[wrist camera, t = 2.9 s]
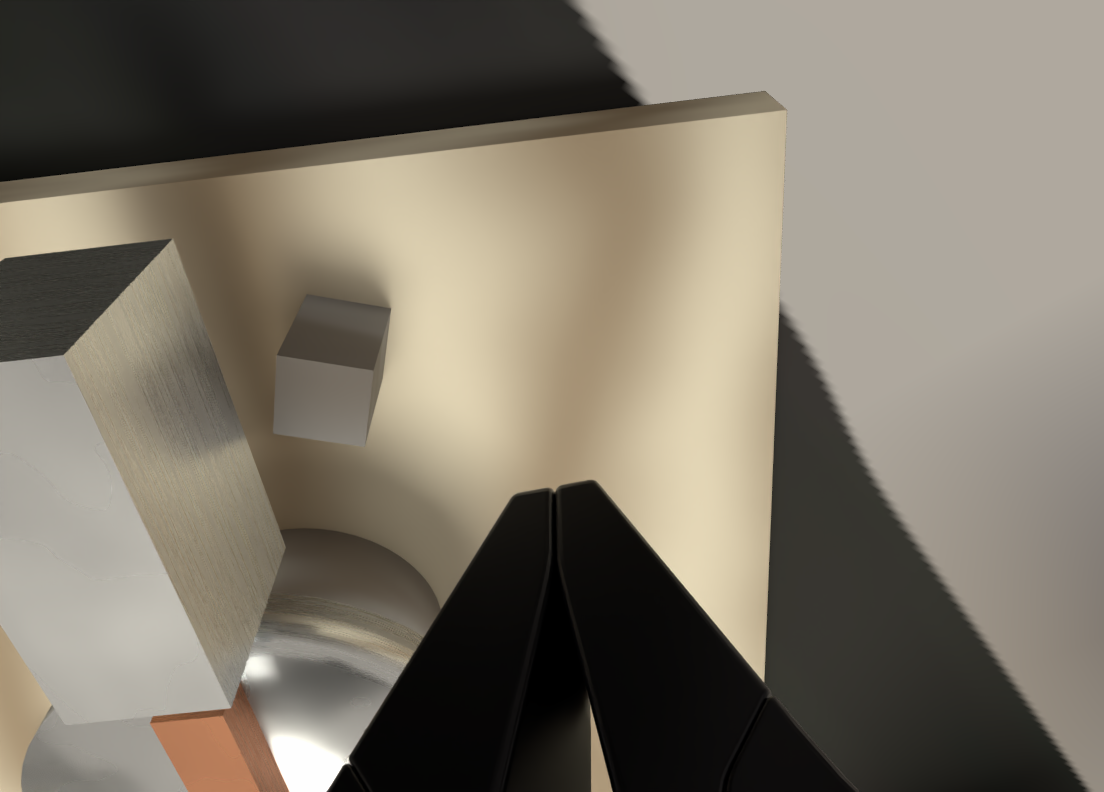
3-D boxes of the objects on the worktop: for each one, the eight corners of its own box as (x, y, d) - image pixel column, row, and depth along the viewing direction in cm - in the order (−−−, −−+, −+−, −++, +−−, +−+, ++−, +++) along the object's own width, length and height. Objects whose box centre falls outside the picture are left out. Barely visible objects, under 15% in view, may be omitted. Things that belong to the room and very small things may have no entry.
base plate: (765, 90, 16) (852, 166, 12) (746, 788, 27) (787, 948, 23) (-368, 225, 16) (-661, 342, 12) (84, 854, 28) (11, 1022, 24)
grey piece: (525, 826, 20) (527, 990, 17) (160, 863, 21) (100, 1030, 18) (394, 212, 12) (355, 321, 9) (-212, 283, 12) (-442, 412, 9)
